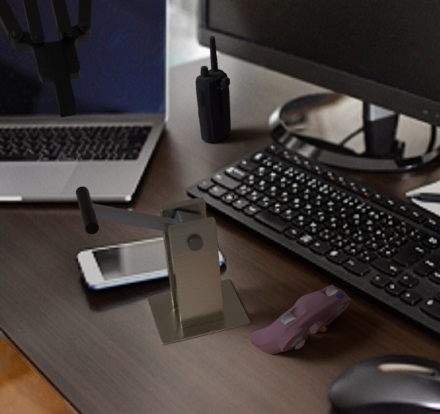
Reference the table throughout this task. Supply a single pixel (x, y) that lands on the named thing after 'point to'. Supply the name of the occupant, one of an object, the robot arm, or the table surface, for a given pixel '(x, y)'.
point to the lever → (124, 215)
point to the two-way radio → (213, 100)
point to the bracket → (194, 280)
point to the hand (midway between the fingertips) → (68, 110)
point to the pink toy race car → (302, 320)
